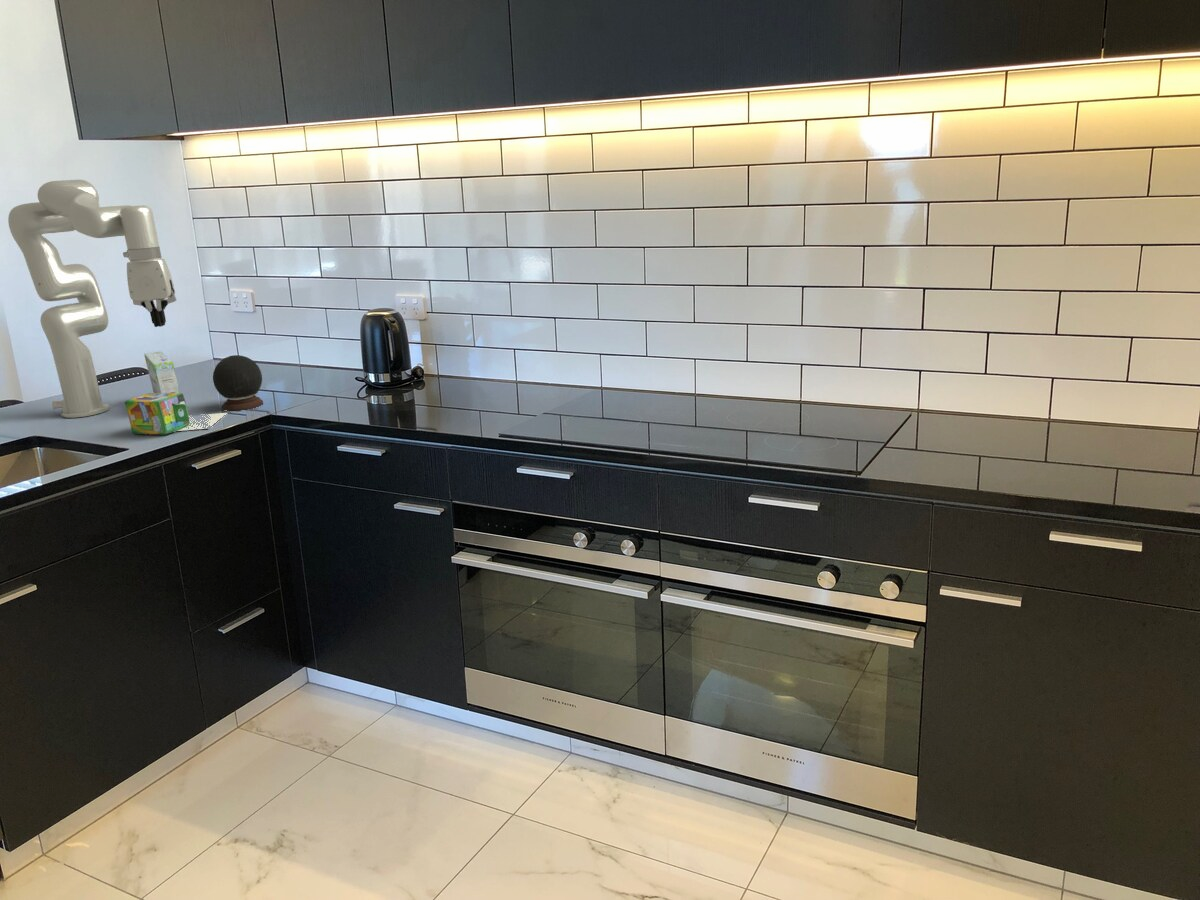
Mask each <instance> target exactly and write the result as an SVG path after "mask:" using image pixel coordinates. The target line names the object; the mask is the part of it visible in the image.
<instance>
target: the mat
mask: <svg viewBox="0 0 1200 900" xmlns="http://www.w3.org/2000/svg"><path fill="white" fill-rule="evenodd" d="M207 414H208V415H209V416H210V417H211V418H210V417H209V416H208V415H207ZM226 414H227V415H228V412H219V413H217V412H216V413H206V415H207V416H208V417H209V418H210V419H211V420H210V419H208V418H206V417H205V416H204V417H205V418H206V419H208V420H209V421H208V420H207V421H208V422H207V421H205V422H207V423H208V426H209V425H210V426H212V425H213V424H214V423H216V422H217V421H218V420H219V419H220V418H222V417H223V416H224V415H226ZM227 415H226V416H227ZM190 416H191V415H189V417H190ZM202 417H203V416H202ZM224 417H225V416H224ZM224 417H223V418H224ZM190 418H191V417H190ZM192 418H193V417H192ZM192 418H191V419H192ZM223 418H222V419H223ZM191 419H189V421H190V420H191ZM193 419H194V418H193ZM193 419H192V420H193ZM206 419H205V420H206ZM192 420H191V421H192ZM194 420H195V419H194ZM194 420H193V421H194ZM200 420H201V419H200ZM191 421H190V423H192V422H193V421H192V422H191ZM201 421H202V420H201ZM201 421H200V422H201ZM203 421H204V420H203ZM195 422H196V420H195ZM197 422H198V421H197ZM197 422H196V423H197ZM200 422H198V423H200ZM205 422H204V423H205ZM209 422H210V423H209ZM218 422H219V421H218ZM218 422H217V423H218ZM196 423H195V424H194V425H193V423H192V424H191V426H192V425H193V427H191V426H189V425H190V424H189V425H188V426H187V428H186V427H184V428H181V429H178V430H176V431H183V430H194V429H196V428H197V429H204V428H202V427H203V424H202V426H201V423H200V425H199V426H198V424H197V425H196ZM207 423H206V424H207ZM217 423H216V424H217ZM197 426H198V427H197ZM200 426H201V427H200ZM208 426H206V428H207V427H208ZM188 427H189V429H188ZM194 427H195V428H194ZM204 427H205V425H204ZM212 427H213V426H212Z"/></svg>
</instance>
